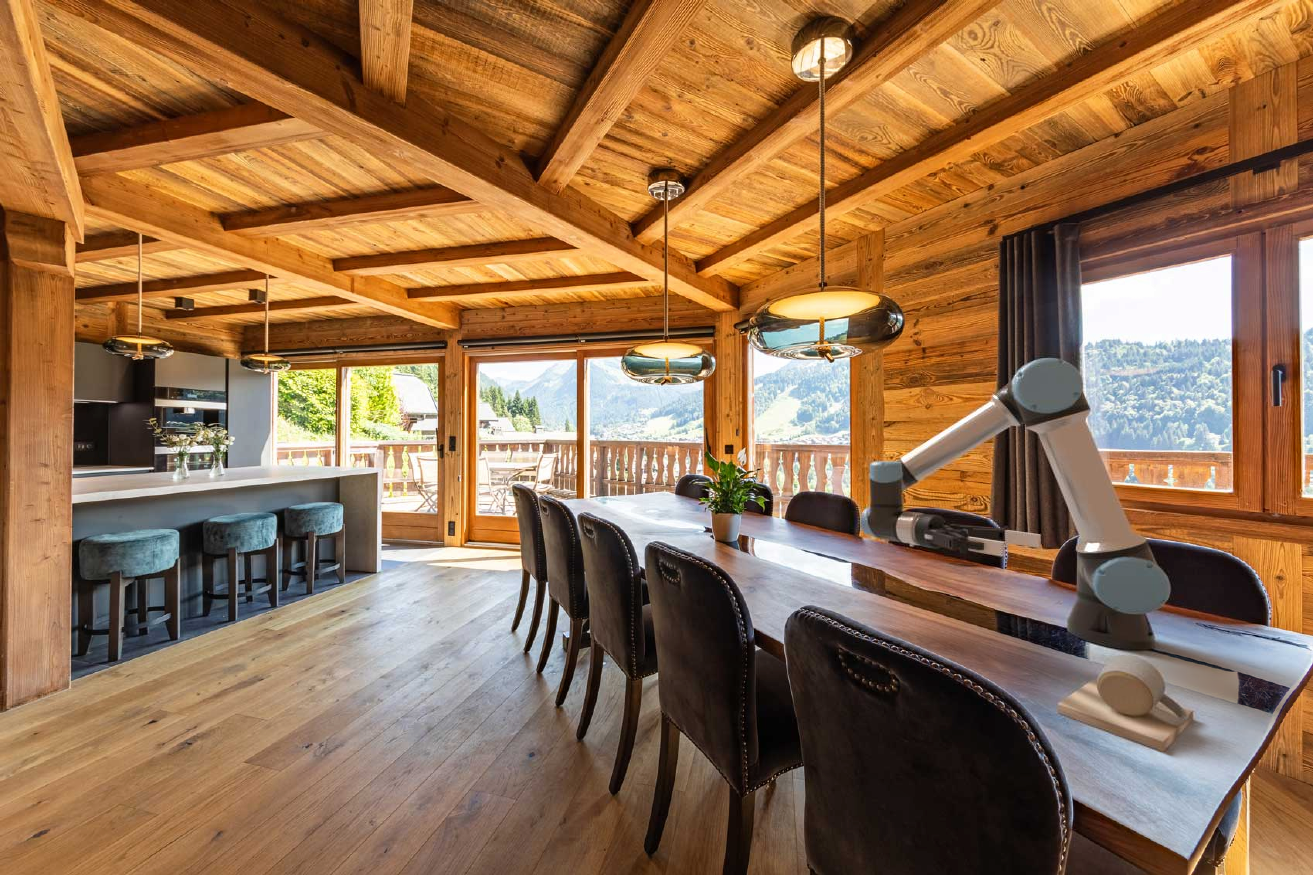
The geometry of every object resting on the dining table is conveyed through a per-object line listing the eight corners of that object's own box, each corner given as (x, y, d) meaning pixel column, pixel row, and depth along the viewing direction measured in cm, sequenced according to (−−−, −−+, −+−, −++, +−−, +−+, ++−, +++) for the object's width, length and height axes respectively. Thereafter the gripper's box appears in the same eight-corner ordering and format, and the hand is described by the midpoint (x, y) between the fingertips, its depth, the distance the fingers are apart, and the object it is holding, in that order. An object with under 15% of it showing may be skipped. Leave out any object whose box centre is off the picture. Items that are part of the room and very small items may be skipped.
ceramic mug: (1093, 707, 87) (1095, 661, 86) (1104, 691, 92) (1105, 647, 92) (1184, 736, 79) (1186, 686, 78) (1190, 717, 84) (1192, 669, 84)
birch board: (1093, 687, 97) (1093, 678, 97) (1193, 719, 86) (1193, 710, 86) (1057, 712, 88) (1057, 703, 88) (1162, 752, 77) (1163, 741, 77)
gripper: (954, 539, 129) (1054, 556, 111) (887, 552, 117) (986, 572, 99) (954, 509, 129) (1053, 520, 111) (887, 518, 117) (985, 532, 99)
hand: (1022, 545), depth 105 cm, fingers open, 13 cm apart
